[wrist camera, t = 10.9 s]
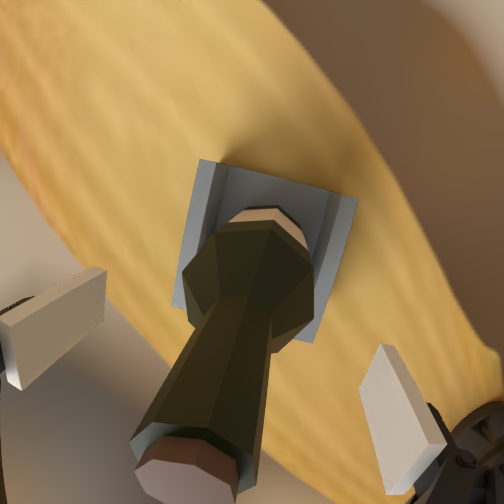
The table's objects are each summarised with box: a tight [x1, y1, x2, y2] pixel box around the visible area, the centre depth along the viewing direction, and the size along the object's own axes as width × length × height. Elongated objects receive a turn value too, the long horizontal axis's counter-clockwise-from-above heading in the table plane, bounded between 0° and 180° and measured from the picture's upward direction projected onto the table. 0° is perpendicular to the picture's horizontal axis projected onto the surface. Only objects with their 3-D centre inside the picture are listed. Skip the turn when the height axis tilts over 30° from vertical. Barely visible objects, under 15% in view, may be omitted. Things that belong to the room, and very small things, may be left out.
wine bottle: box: [129, 205, 314, 504], centre depth 20 cm, size 8×8×30 cm
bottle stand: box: [171, 159, 358, 343], centre depth 32 cm, size 14×14×8 cm
